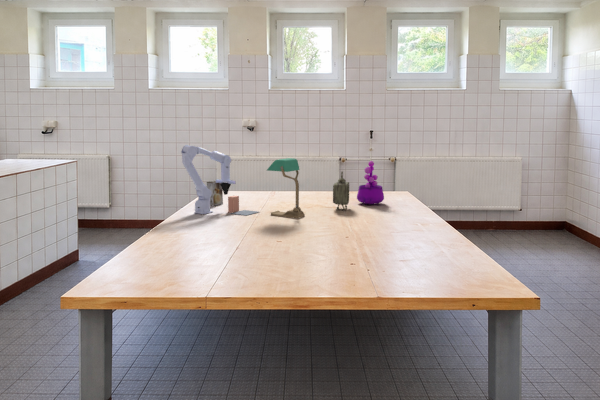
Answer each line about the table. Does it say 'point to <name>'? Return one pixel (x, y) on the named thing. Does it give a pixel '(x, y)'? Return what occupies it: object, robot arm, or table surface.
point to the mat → (245, 212)
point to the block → (233, 204)
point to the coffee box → (215, 193)
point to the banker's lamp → (288, 166)
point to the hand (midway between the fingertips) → (225, 194)
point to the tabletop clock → (341, 192)
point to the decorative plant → (370, 188)
